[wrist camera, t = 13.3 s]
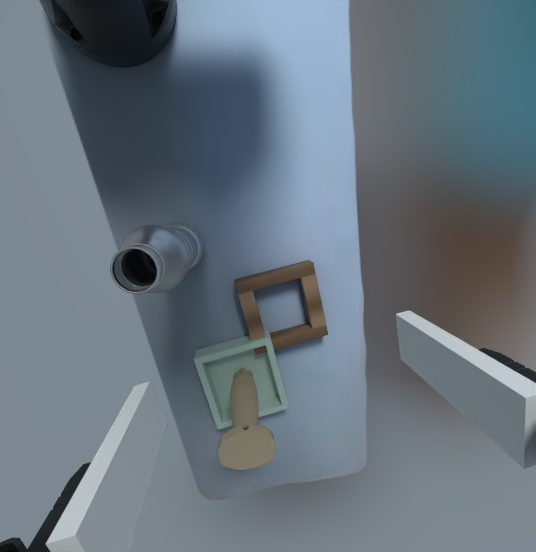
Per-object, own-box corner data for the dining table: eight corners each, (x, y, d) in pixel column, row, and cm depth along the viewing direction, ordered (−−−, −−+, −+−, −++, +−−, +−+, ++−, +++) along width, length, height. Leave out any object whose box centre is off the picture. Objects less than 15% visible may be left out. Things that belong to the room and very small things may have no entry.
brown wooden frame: (235, 279, 42) (235, 283, 40) (308, 260, 43) (313, 262, 40) (254, 348, 45) (255, 355, 42) (323, 328, 46) (328, 334, 43)
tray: (196, 349, 44) (193, 359, 41) (268, 329, 44) (270, 337, 41) (218, 416, 47) (217, 429, 44) (285, 396, 47) (289, 408, 44)
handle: (262, 386, 46) (276, 465, 31) (224, 390, 45) (219, 473, 31) (261, 360, 45) (274, 429, 30) (222, 364, 44) (216, 436, 29)
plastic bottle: (162, 268, 40) (95, 314, 21) (158, 222, 39) (83, 225, 20) (206, 268, 41) (180, 312, 22) (204, 222, 40) (175, 226, 20)
